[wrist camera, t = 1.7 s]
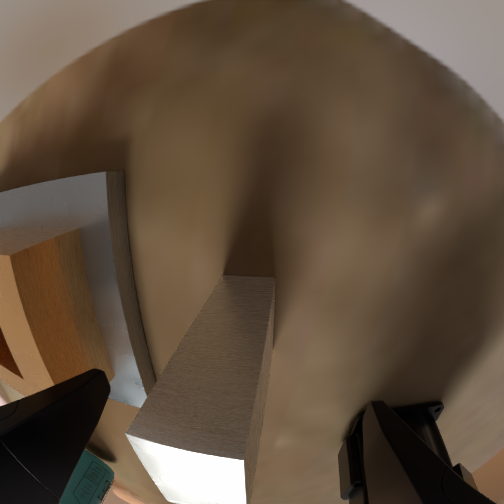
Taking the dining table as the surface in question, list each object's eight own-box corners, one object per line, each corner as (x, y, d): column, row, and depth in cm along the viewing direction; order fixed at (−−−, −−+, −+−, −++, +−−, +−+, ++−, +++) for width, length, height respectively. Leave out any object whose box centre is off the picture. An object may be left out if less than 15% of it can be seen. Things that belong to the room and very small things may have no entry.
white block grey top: (275, 277, 12) (243, 460, 4) (272, 349, 14) (247, 516, 5) (222, 274, 13) (125, 433, 4) (226, 346, 14) (167, 501, 5)
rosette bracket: (123, 170, 12) (27, 181, 6) (163, 405, 16) (128, 471, 11) (-8, 195, 14) (-65, 211, 8) (34, 360, 18) (-3, 395, 12)
